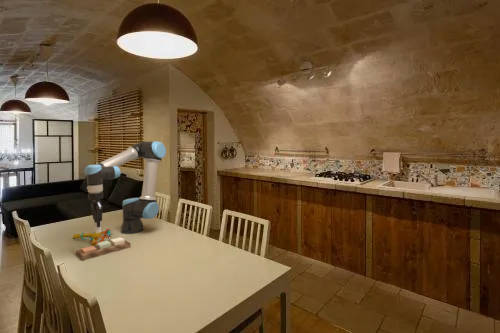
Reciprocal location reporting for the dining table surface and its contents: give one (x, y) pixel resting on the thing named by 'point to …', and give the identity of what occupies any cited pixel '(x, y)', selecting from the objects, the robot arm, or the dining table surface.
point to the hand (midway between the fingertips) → (98, 232)
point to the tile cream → (117, 241)
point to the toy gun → (95, 236)
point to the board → (102, 251)
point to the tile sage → (103, 244)
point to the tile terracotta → (88, 249)
